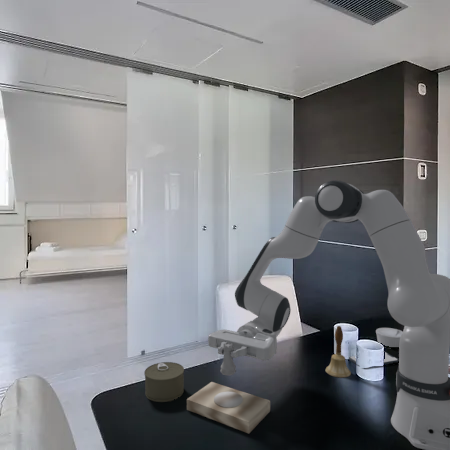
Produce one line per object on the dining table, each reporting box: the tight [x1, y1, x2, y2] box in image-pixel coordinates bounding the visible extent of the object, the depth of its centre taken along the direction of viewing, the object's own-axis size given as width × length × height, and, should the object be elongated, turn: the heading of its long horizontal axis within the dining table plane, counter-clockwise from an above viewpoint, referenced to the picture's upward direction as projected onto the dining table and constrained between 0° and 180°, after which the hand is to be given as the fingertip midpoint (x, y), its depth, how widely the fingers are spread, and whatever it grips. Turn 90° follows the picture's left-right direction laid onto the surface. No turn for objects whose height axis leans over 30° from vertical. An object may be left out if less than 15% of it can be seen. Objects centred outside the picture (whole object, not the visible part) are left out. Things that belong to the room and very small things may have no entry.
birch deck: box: [186, 381, 271, 435], centre depth 102 cm, size 20×12×3 cm, turn 57°
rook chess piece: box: [219, 343, 237, 376], centre depth 101 cm, size 4×4×8 cm
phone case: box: [348, 351, 399, 365], centre depth 133 cm, size 9×2×16 cm
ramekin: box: [375, 327, 403, 347], centre depth 149 cm, size 11×11×5 cm
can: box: [144, 361, 185, 403], centre depth 112 cm, size 12×12×7 cm
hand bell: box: [325, 325, 352, 378], centre depth 125 cm, size 8×8×16 cm
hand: (226, 353), depth 100 cm, fingers closed on rook chess piece, 3 cm apart
